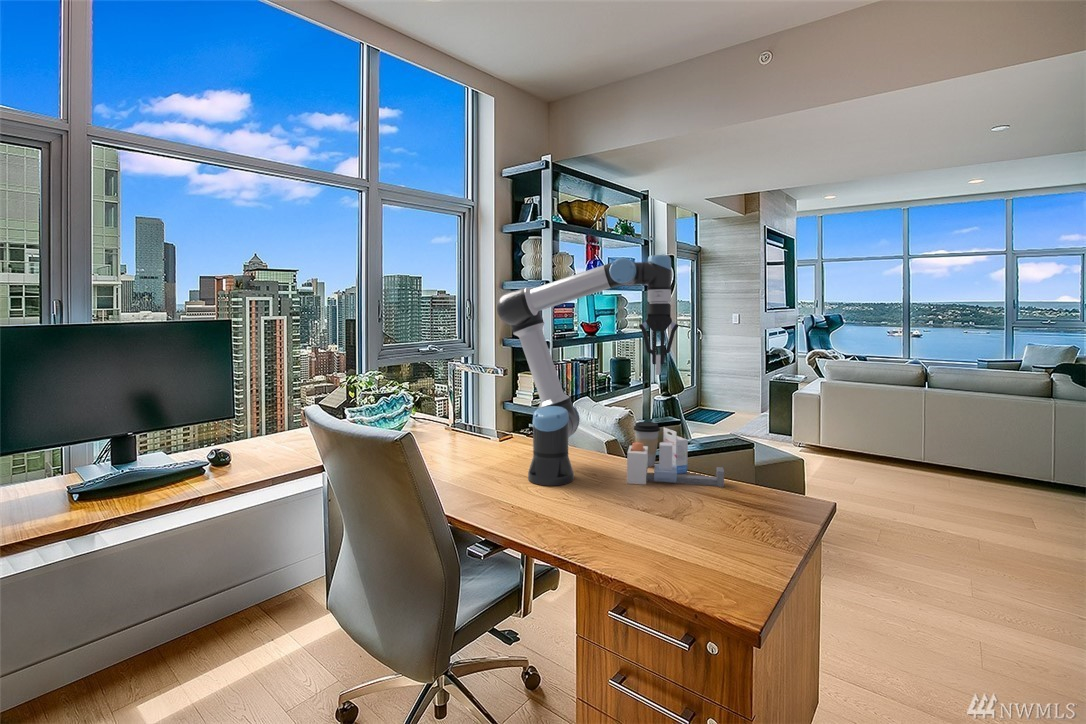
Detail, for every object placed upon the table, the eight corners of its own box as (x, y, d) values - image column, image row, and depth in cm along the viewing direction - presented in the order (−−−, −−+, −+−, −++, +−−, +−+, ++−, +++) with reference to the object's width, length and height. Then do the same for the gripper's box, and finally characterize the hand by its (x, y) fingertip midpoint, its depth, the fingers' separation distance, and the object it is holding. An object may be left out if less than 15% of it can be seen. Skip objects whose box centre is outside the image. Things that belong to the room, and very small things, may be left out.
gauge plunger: (631, 456, 177) (631, 444, 176) (632, 453, 180) (632, 442, 180) (642, 457, 176) (643, 445, 175) (643, 454, 179) (643, 442, 179)
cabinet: (627, 483, 174) (627, 452, 174) (629, 474, 184) (629, 445, 183) (645, 484, 173) (646, 453, 172) (647, 475, 183) (647, 446, 182)
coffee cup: (658, 461, 200) (658, 421, 198) (661, 468, 190) (661, 426, 189) (632, 460, 201) (632, 421, 199) (633, 468, 191) (634, 426, 190)
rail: (646, 482, 175) (646, 467, 175) (647, 477, 180) (647, 462, 180) (723, 487, 170) (724, 471, 169) (722, 482, 175) (722, 467, 174)
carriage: (653, 482, 173) (654, 446, 172) (654, 474, 182) (655, 440, 181) (676, 483, 171) (677, 448, 170) (676, 475, 180) (676, 441, 179)
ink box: (688, 473, 185) (688, 430, 184) (675, 474, 184) (676, 431, 182) (673, 466, 193) (674, 425, 192) (661, 467, 191) (662, 426, 190)
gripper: (638, 303, 176) (637, 375, 178) (679, 302, 172) (678, 376, 175) (639, 303, 183) (638, 372, 185) (679, 303, 180) (678, 373, 182)
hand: (658, 374), depth 180 cm, fingers closed
